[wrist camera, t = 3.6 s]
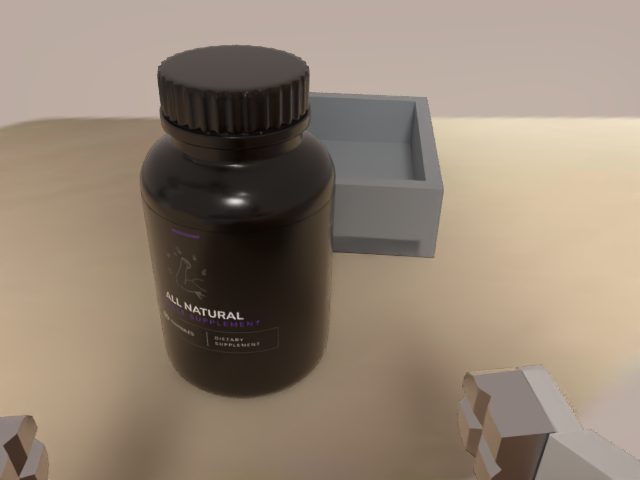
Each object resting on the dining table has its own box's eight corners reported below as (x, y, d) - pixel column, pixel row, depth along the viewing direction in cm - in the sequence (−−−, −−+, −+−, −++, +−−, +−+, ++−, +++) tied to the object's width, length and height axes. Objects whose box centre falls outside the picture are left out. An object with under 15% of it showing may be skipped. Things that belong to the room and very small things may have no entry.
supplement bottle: (171, 421, 22) (112, 111, 15) (165, 304, 27) (120, 40, 21) (349, 388, 23) (367, 92, 17) (310, 284, 29) (311, 30, 22)
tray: (194, 243, 32) (186, 176, 29) (241, 144, 42) (237, 89, 40) (433, 257, 31) (443, 189, 29) (420, 152, 41) (427, 97, 39)
